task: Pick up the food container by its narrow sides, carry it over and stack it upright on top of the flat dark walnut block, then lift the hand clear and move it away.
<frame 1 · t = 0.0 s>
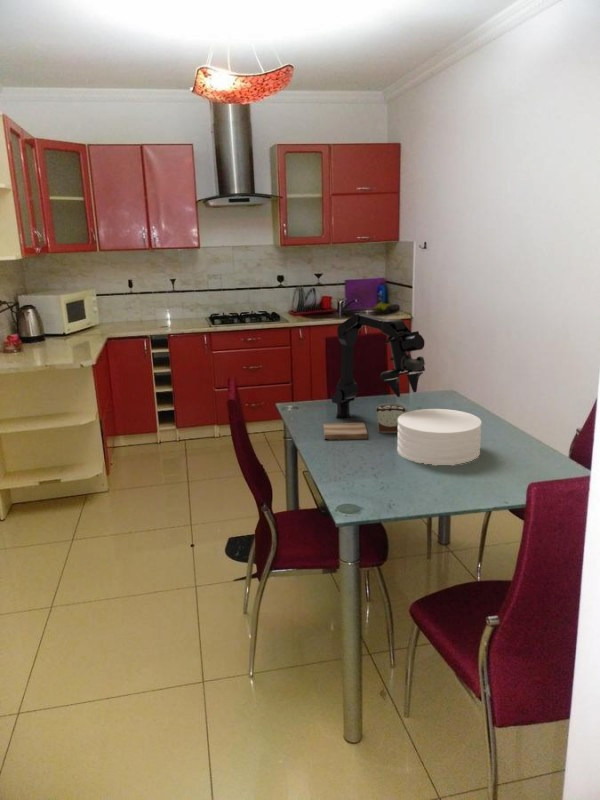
hand: (407, 394, 221), 15 cm above the table, tool pointing down, fingers open, 9 cm apart
plate stack: (437, 451, 207), on the table
food container: (390, 430, 231), on the table
walnut block: (344, 433, 228), on the table
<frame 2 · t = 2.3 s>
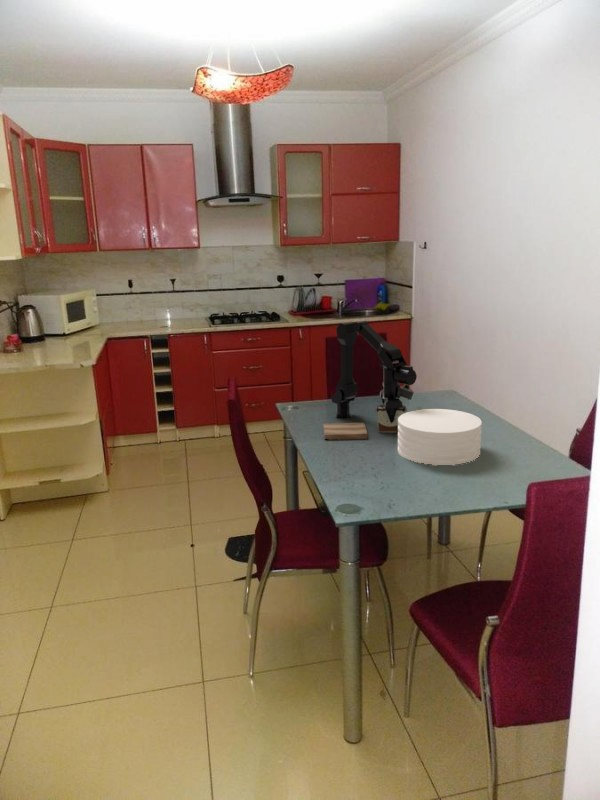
hand: (390, 419, 230), 4 cm above the table, tool pointing down, fingers closed on food container, 6 cm apart
food container: (390, 430, 231), on the table, touching gripper
everything else where it was.
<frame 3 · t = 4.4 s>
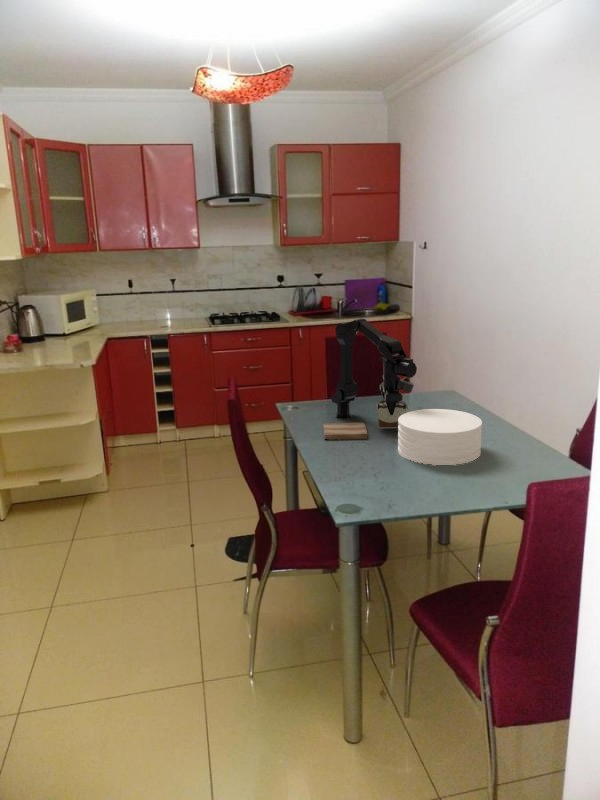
hand: (390, 412, 229), 7 cm above the table, tool pointing down, fingers closed on food container, 6 cm apart
food container: (389, 424, 232), point 2 cm above the table, touching gripper
everything else where it was.
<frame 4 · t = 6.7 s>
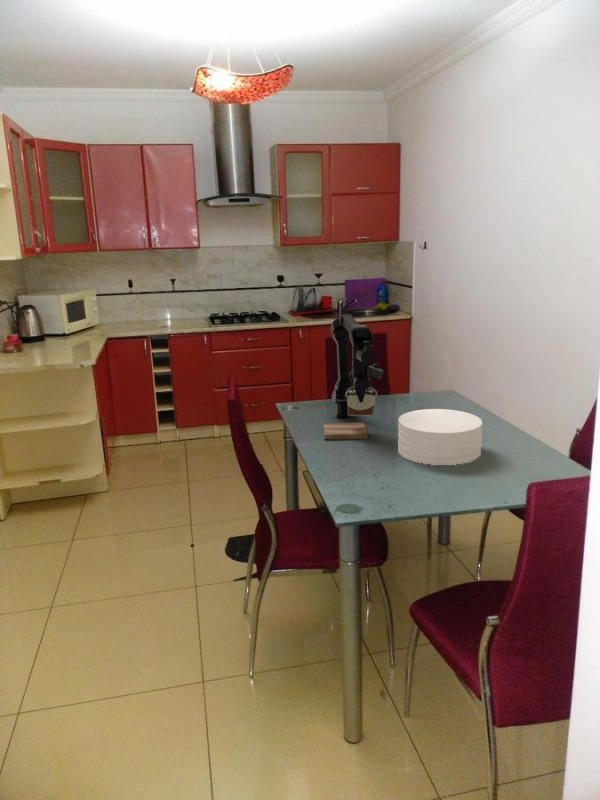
hand: (360, 400, 226), 13 cm above the table, tool pointing down, fingers closed on food container, 6 cm apart
food container: (359, 412, 229), point 8 cm above the table, touching gripper
everything else where it was.
when the fingers open (8 cm above the table, at t = 9.5 s): food container stays where it is, resting on walnut block.
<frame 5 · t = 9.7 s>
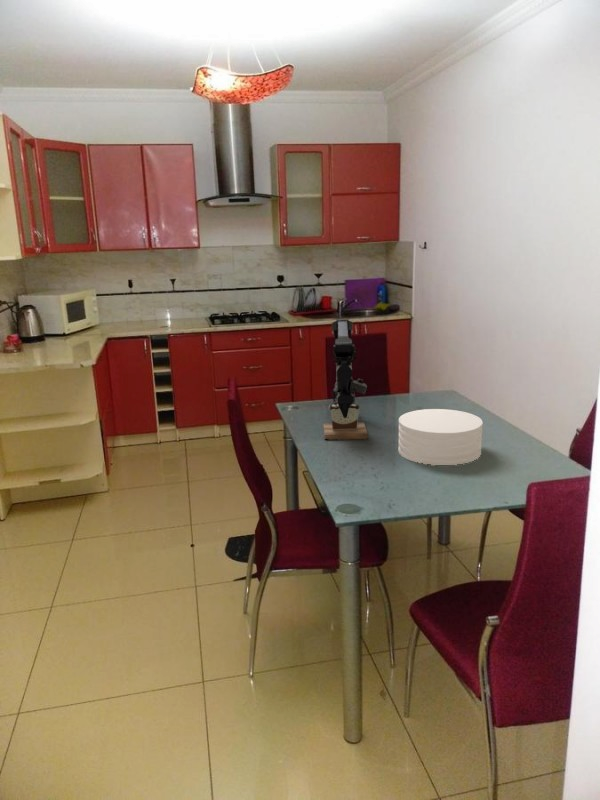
hand: (344, 414, 226), 7 cm above the table, tool pointing down, fingers open, 8 cm apart
food container: (344, 427, 229), point 2 cm above the table, touching gripper, walnut block
everything else where it was.
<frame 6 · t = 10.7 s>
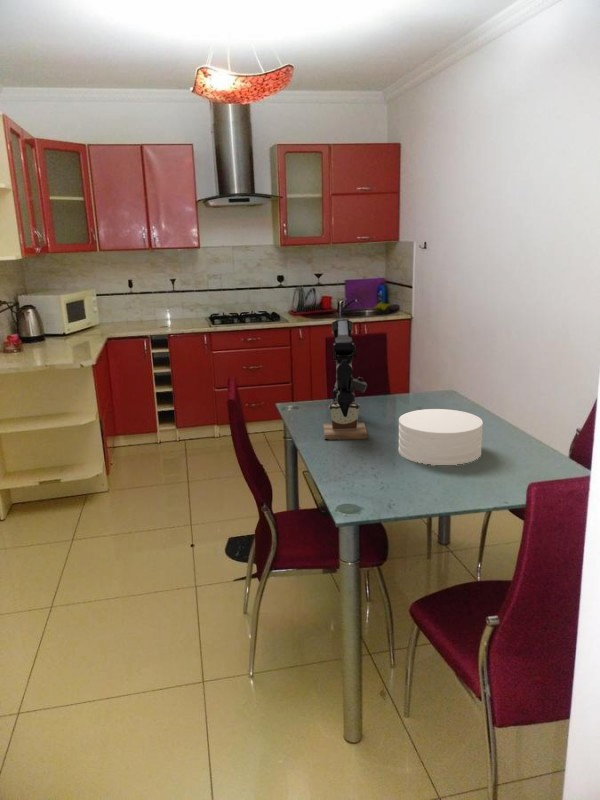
hand: (344, 413, 226), 8 cm above the table, tool pointing down, fingers open, 9 cm apart
nothing on the table moved.
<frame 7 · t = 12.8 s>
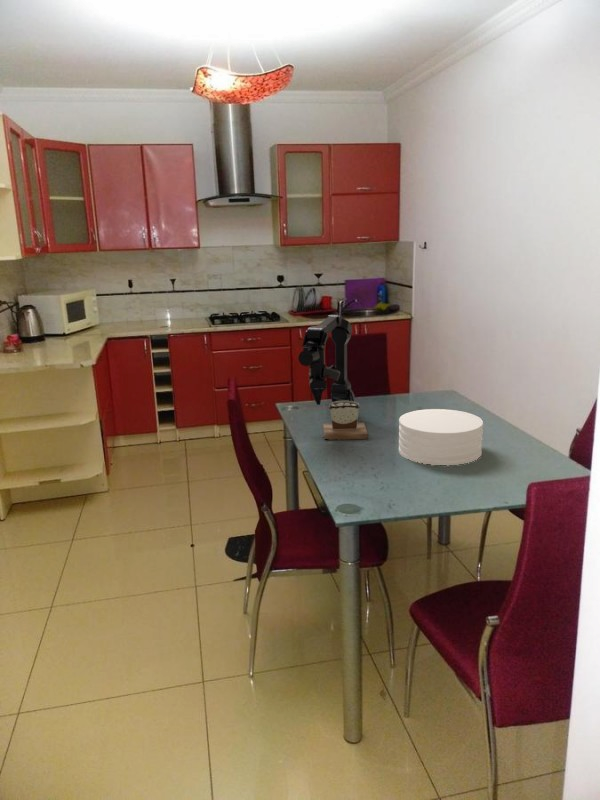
hand: (318, 401, 225), 13 cm above the table, tool pointing down, fingers open, 9 cm apart
food container: (344, 427, 229), point 2 cm above the table, touching walnut block
everything else where it was.
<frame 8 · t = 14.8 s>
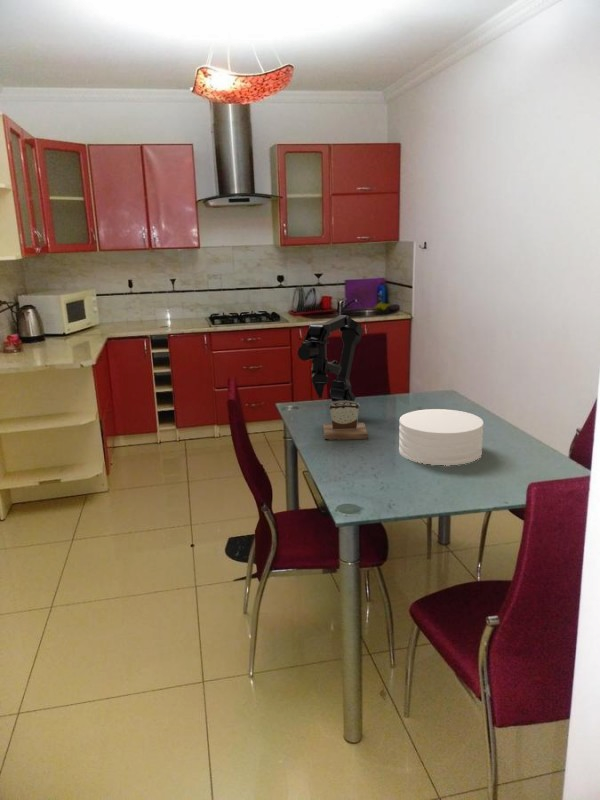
hand: (320, 395, 235), 13 cm above the table, tool pointing down, fingers open, 9 cm apart
nothing on the table moved.
at the end: food container inside the target area on the walnut block (1.8 cm from its centre), point 1.8 cm above the walnut block's base; food container tilted 0°; the gripper is holding nothing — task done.
